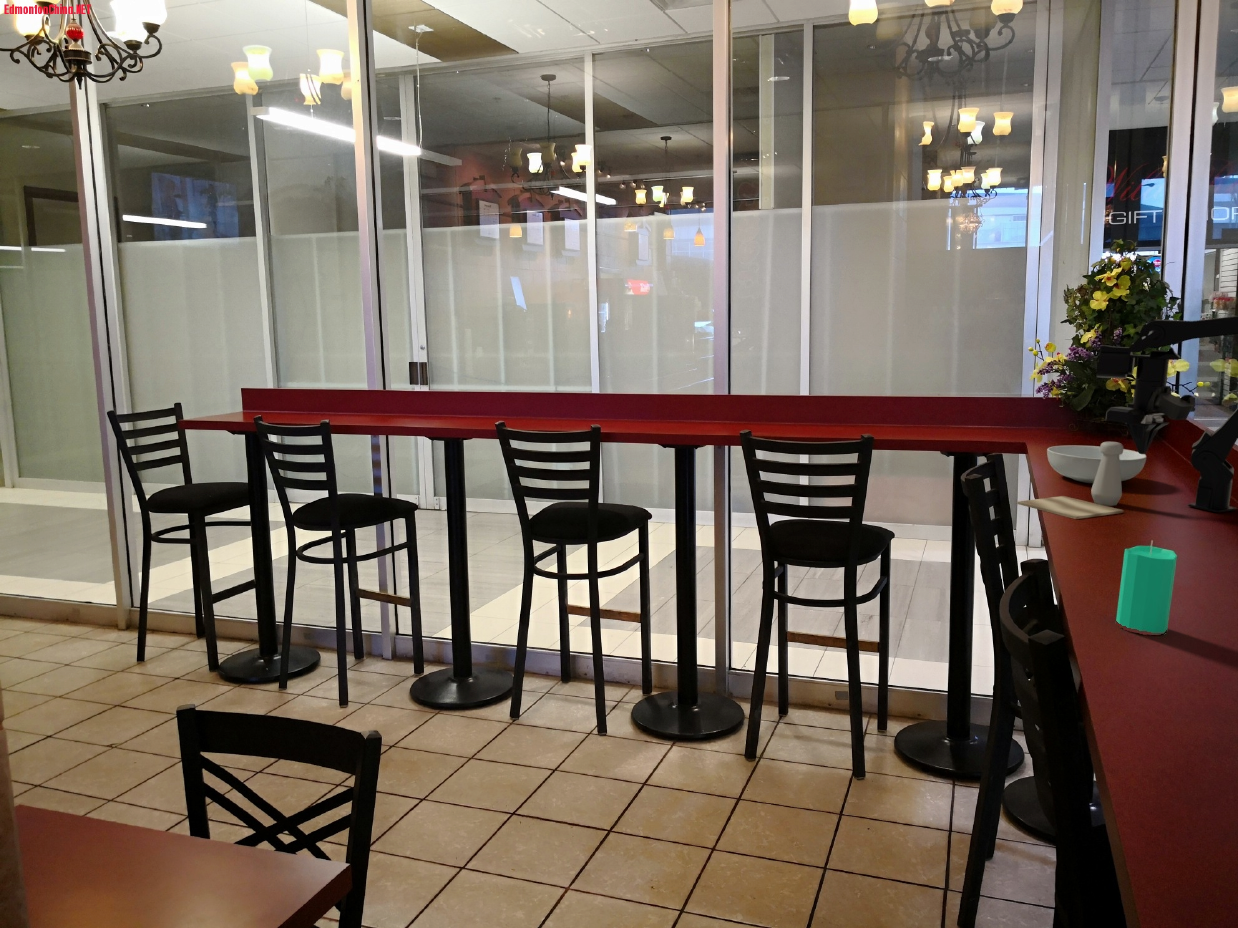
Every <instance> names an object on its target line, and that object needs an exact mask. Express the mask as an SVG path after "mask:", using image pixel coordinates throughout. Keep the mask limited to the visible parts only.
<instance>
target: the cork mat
mask: <svg viewBox="0 0 1238 928" xmlns="http://www.w3.org/2000/svg"><path fill="white" fill-rule="evenodd" d="M1016 504H1017V505H1018V506H1019V505H1020V506H1024V507H1028V508H1031V509H1035V510H1040V511H1042V512H1047V513H1050V514H1054V515H1058V516H1062V517H1064V518H1065V517H1066V518H1069V519H1070V518H1071V519H1074V520H1079V519H1088V518H1094V517H1101V516H1107V515H1108V516H1110V515H1115V514H1121V513H1122V514H1123V513H1124V510H1123V509H1120V508H1116V507H1115V508H1114V507H1113V506H1106V505H1099V504H1096V503H1094V502H1089V501H1086V500H1082V499H1077V498H1073V497H1069V496H1066V495H1060V496H1052V497H1045V498H1043V497H1042V498H1038V499H1037V498H1036V499H1028V500H1019V501H1017V503H1016Z"/></svg>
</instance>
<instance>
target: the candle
mask: <svg viewBox="0 0 1238 928" xmlns="http://www.w3.org/2000/svg"><path fill="white" fill-rule="evenodd" d="M1153 541H1154V540H1152V539H1151V542H1150V545H1136V546H1134V547H1130V548H1125V549H1124V554H1123V561H1122V562H1123V563H1122V570H1121V579H1120V586H1119V594H1118V595H1119V596H1118V603H1117V609H1116V610H1117V611H1116V619H1115V620H1116V621H1117V622H1118V623H1119V624H1121V625H1122V626H1126V627H1127V628H1131V629H1137V630H1139V631H1147V632H1151V633H1164V632H1165V631H1166V630H1167V631H1168V627H1169V619H1170V610H1171V603H1172V597H1173V591H1174V583H1175V582H1174V581H1175V574H1176V567H1177V566H1176V565H1177V558H1178V555H1177V554H1176V553H1175V551H1174V550H1170V549H1165V548H1161V547H1157V546H1153V543H1154V542H1153ZM1116 621H1115V622H1116Z"/></svg>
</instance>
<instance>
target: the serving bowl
mask: <svg viewBox="0 0 1238 928" xmlns="http://www.w3.org/2000/svg"><path fill="white" fill-rule="evenodd" d="M1046 453H1047V455H1046V456H1047V460H1048V463H1049V465H1050V466H1051V468H1052V469H1053V471H1055V472H1057V473H1058V474H1060V475H1061V476H1064V477H1066V478H1069V479H1072V480H1074V481H1077V482H1080V483H1084V484H1085V483H1087V484H1093V483H1094V480H1095V477H1096V474H1097V471H1098V468H1099V465H1100V462H1101V459H1102V456H1103V453H1101V452H1100V446H1097V445H1055V446H1050V447H1048V448H1047V449H1046ZM1119 458H1120V473H1121V482H1123V481H1127V480H1130V479H1133V478H1134V477H1136V476H1137V475H1138V474H1140V473H1141V471H1142V470H1143V468H1144V466H1145V464H1146V461H1147V455H1146V454H1139V453H1138V451H1135V450H1130V449H1125V448H1123V453H1122V454H1121V455H1119Z"/></svg>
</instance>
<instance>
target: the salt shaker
mask: <svg viewBox="0 0 1238 928" xmlns="http://www.w3.org/2000/svg"><path fill="white" fill-rule="evenodd" d="M1099 447H1100V452H1101V453H1103V456H1102V459H1101V462H1100V465H1099V468H1098V471H1097V474H1096V477H1095V480H1094V483H1092V487H1091V491H1090V492H1091V493H1090V494H1091V497H1092V499H1093V503H1095V504H1099V505H1103V506H1108V507H1113V506H1117V505H1118V503H1119V501H1120V499H1121V498H1122V496H1123V495H1122V494H1123V491H1122V481H1121V473H1120V458H1119V455H1121V454H1122V453H1123V449H1124V445H1123V444H1122V443H1120V442H1117V441H1104V442H1102V443H1100V446H1099Z"/></svg>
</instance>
